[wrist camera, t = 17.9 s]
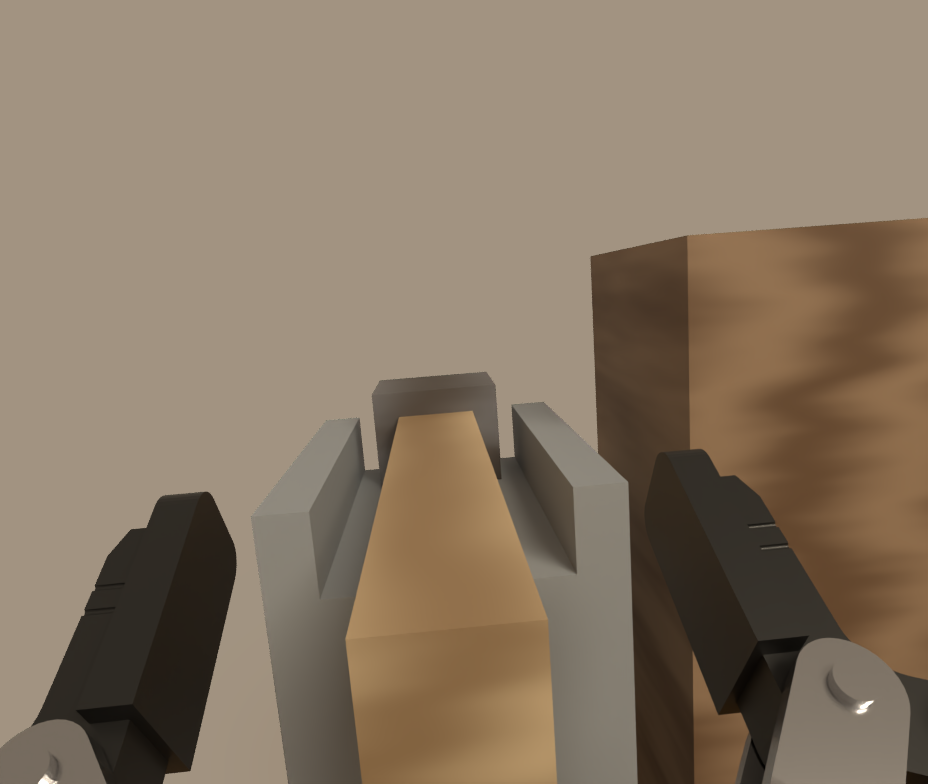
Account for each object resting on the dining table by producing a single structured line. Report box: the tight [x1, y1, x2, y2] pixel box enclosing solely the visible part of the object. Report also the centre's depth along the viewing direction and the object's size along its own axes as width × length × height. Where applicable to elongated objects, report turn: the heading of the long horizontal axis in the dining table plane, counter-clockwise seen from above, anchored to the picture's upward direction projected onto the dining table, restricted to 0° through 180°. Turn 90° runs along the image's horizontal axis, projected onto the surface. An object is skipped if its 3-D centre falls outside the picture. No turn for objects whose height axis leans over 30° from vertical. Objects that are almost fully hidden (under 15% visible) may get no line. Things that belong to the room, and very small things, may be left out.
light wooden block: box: [345, 372, 557, 784], centre depth 19 cm, size 5×20×4 cm, turn 3°
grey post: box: [251, 402, 638, 784], centre depth 24 cm, size 10×12×24 cm
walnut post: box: [591, 218, 928, 784], centre depth 26 cm, size 10×11×30 cm
